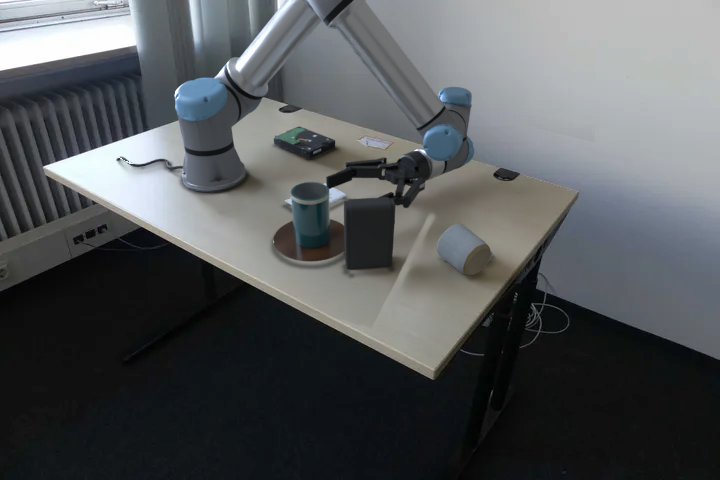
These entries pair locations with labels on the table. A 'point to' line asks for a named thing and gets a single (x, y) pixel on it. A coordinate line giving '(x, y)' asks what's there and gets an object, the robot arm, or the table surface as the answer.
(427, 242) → the table surface
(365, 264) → the card reader
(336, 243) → the plate
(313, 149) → the disk drive
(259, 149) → the table surface
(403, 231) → the table surface
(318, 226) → the tumbler
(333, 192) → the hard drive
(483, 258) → the ceramic mug
